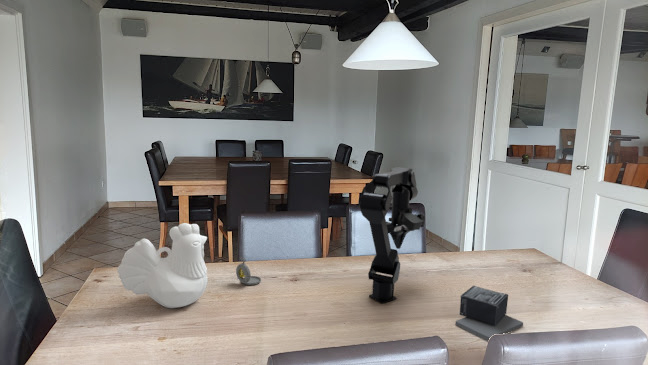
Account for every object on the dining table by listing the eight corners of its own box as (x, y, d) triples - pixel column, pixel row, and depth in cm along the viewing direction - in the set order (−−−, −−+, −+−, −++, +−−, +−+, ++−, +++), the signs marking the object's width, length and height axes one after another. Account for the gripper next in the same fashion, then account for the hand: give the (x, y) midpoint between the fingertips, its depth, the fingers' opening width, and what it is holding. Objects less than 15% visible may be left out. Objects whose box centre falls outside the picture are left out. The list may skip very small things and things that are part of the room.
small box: (458, 316, 127) (495, 327, 121) (459, 295, 126) (496, 305, 120) (472, 304, 135) (507, 314, 129) (473, 284, 134) (508, 293, 128)
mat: (489, 342, 115) (489, 337, 115) (455, 325, 124) (455, 321, 124) (522, 326, 125) (523, 322, 124) (488, 311, 133) (489, 307, 133)
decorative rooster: (207, 289, 144) (206, 215, 140) (209, 309, 130) (208, 228, 126) (125, 296, 137) (121, 219, 133) (117, 319, 122) (112, 233, 118)
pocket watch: (262, 279, 154) (263, 252, 152) (256, 288, 146) (257, 259, 144) (240, 277, 155) (240, 250, 153) (233, 287, 147) (232, 258, 145)
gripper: (397, 212, 136) (395, 260, 139) (437, 205, 147) (434, 250, 150) (373, 205, 145) (371, 250, 148) (412, 199, 156) (410, 242, 158)
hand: (398, 248), depth 151 cm, fingers closed
